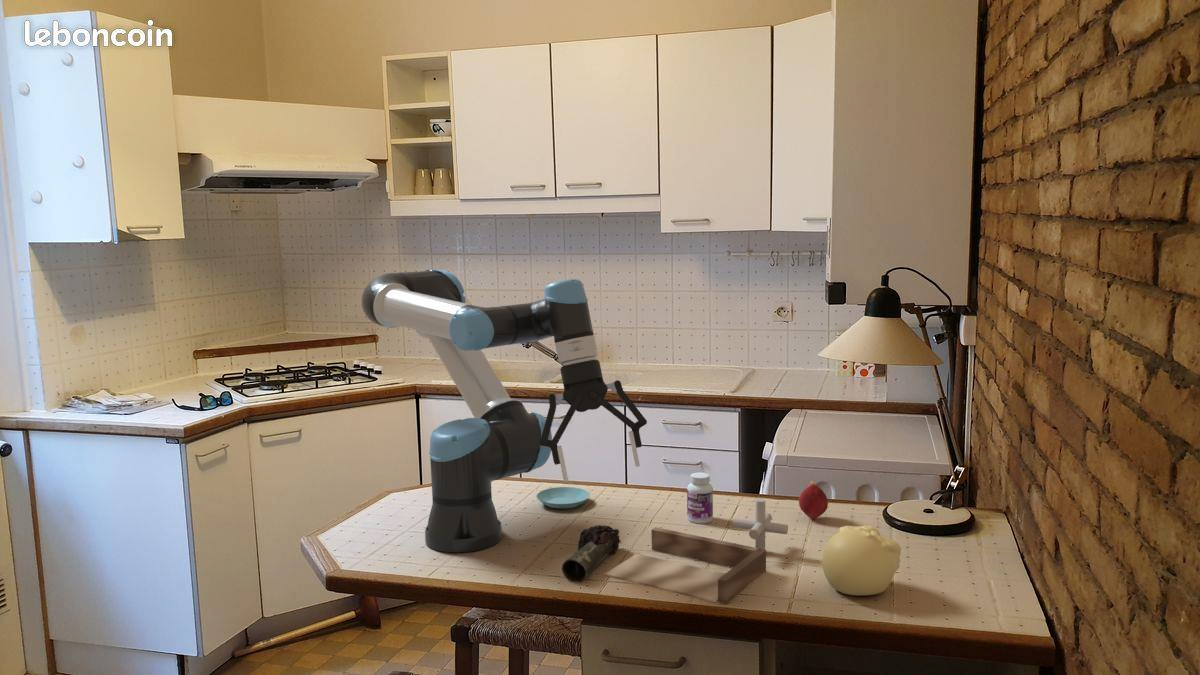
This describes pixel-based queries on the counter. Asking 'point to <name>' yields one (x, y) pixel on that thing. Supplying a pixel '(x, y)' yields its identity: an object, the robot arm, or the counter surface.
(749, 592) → the counter surface
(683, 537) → the corner wall
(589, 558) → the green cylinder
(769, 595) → the counter surface
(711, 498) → the pill bottle
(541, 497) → the saucer
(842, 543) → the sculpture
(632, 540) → the counter surface
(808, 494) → the onion
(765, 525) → the pipe connector
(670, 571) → the mat
